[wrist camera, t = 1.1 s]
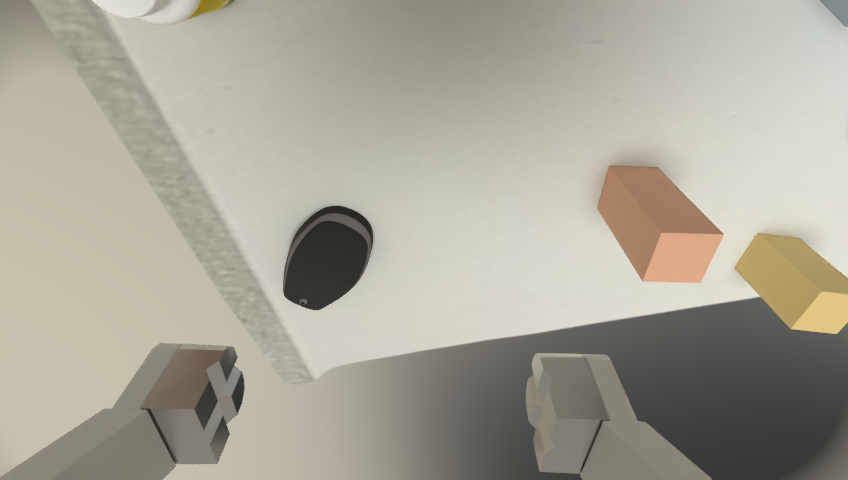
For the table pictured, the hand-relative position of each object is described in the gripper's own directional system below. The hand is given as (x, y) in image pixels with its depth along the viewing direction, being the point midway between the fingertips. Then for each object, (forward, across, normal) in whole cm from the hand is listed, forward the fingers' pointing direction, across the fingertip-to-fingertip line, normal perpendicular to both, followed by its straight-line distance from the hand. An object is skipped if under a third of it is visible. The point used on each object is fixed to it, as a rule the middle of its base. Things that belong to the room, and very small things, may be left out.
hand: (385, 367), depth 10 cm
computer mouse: (+28, +8, +18) cm, 34 cm away
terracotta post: (+27, -18, +9) cm, 34 cm away
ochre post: (+28, -33, +16) cm, 46 cm away
